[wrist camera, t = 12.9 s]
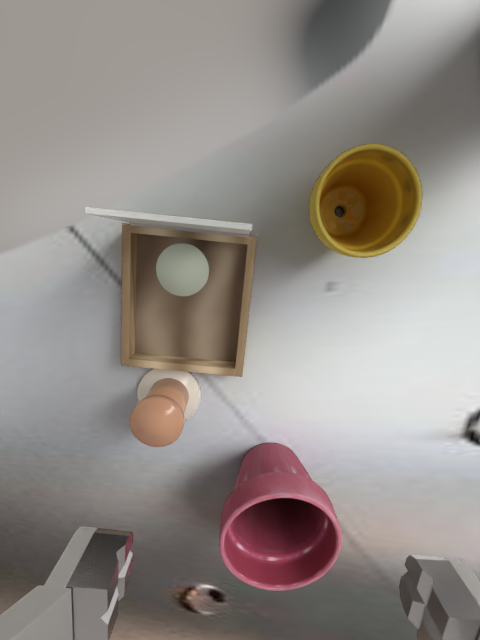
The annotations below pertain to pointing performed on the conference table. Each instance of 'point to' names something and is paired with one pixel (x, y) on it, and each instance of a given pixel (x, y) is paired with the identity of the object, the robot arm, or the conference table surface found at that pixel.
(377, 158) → the plant pot
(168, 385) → the peach mushroom knob
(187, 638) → the conference table surface
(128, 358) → the brown wooden tray
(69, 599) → the robot arm
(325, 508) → the plant pot
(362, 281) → the conference table surface
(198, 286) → the sage pot
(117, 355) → the conference table surface
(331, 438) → the conference table surface
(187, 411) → the cream disc
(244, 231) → the propped lid
